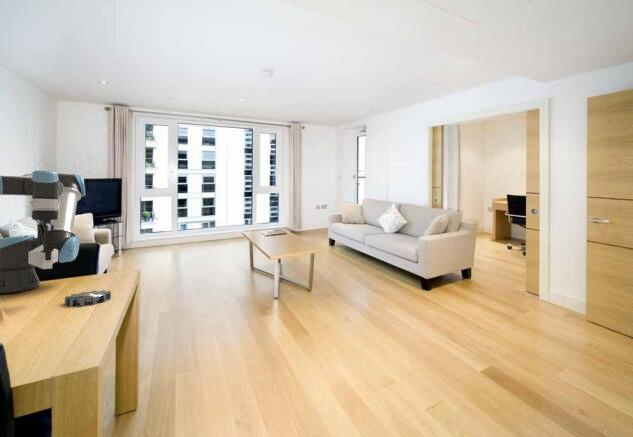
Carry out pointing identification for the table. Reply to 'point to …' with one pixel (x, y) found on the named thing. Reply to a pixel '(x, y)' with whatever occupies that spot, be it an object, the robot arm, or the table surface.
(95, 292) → the gear plate
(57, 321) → the table surface
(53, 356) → the table surface
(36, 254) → the die
